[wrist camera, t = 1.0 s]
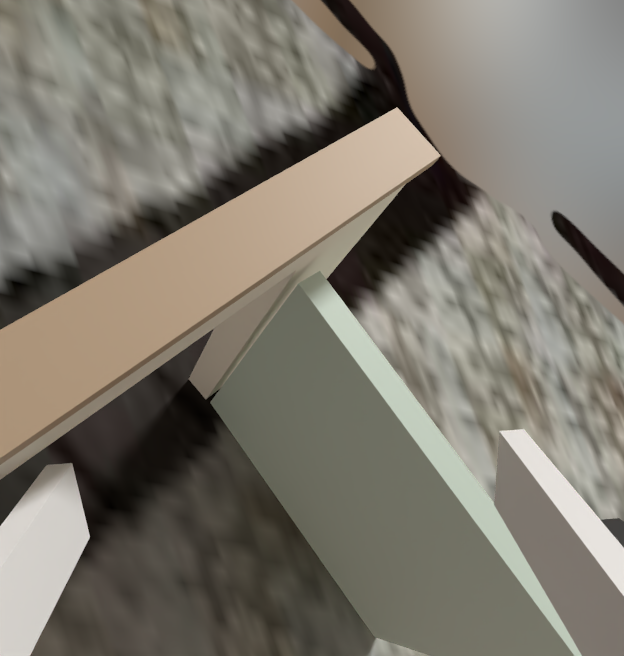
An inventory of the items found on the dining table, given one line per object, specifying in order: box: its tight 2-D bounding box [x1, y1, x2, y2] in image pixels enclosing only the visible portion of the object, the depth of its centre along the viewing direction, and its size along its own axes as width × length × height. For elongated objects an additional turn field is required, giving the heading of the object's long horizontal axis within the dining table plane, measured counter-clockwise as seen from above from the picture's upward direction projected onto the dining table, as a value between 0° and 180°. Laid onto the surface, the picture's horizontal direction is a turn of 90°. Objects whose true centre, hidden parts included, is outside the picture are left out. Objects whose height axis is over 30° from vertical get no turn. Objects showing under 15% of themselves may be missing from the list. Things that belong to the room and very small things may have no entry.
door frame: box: [0, 108, 441, 479], centre depth 23 cm, size 3×34×25 cm, turn 135°
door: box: [210, 271, 582, 656], centre depth 29 cm, size 3×20×20 cm, turn 40°
